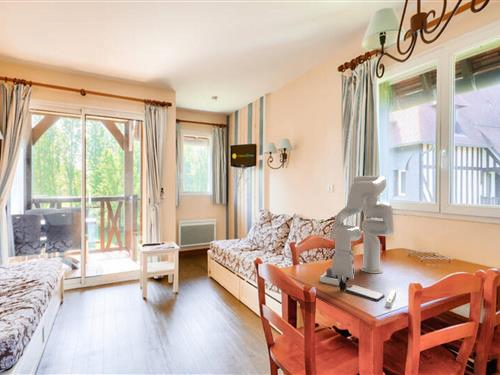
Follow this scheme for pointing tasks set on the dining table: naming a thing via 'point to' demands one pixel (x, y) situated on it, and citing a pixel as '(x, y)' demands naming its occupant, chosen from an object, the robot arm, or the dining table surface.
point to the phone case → (365, 293)
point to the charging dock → (391, 298)
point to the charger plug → (330, 273)
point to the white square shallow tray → (329, 280)
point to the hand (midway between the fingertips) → (342, 289)
